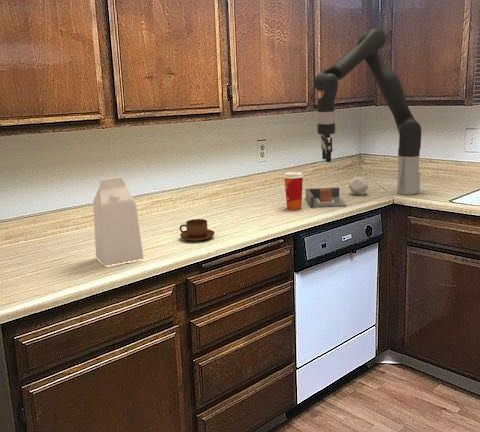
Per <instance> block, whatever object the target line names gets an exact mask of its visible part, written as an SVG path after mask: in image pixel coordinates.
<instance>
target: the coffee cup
mask: <svg viewBox="0 0 480 432" xmlns="http://www.w3.org/2000/svg"><path fill="white" fill-rule="evenodd" d="M283 178H284V189H285V201H286V209H287V210H288V211H300V210H301V209H302V203H303V198H302V197H303V181H304V180H303V179H304V174H303V172H299V171H289V172H288V171H287V172H285V173H284V175H283Z"/></svg>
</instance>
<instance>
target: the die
mask: <svg viewBox="0 0 480 432" xmlns="http://www.w3.org/2000/svg"><path fill="white" fill-rule="evenodd" d="M366 179H367V178H366V177H365V176H364V177H360V176H359V177H358V176H357V177H356V176H354V177H353V178H352V179H351V180H350V182H349V184H348V187H349V190H350V192H351V194H352V195H354V196H364V195H365V193H366V192H367V191H368V189H369V188H370V187H369V185H368V182H367V180H366Z"/></svg>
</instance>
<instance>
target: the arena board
mask: <svg viewBox="0 0 480 432" xmlns="http://www.w3.org/2000/svg"><path fill="white" fill-rule="evenodd" d="M319 188H320V187H317V188H314V187H313V188H305V190H304V191H305V201H306V202H307V204H308V206H309V208H313V209H316V208H317V207H318V208H336V207H337V208H338V207H341V206H342V207H347V203H346V202H344V201H343V199H342V198H341V197H340V187H329V188H330V189H331V190H332V202H320V201H319ZM342 207H341V208H342Z"/></svg>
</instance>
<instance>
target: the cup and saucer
mask: <svg viewBox="0 0 480 432" xmlns="http://www.w3.org/2000/svg"><path fill="white" fill-rule="evenodd" d="M183 227H185V228H186V230H183V229H182V228H183ZM179 231H180V237H181V238H182V239H183V240H185V241H189V242H190V241H191V242H198V241H199V242H200V241H206V240H208V239H209V240H210V239H211V238H212V237H214V235H215V231H214V230H212V229H210V228H209V229H208V220H206V219H202V218H201V219H200V218H197V219H189V220H186V223H184V224H181V225H179Z"/></svg>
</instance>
